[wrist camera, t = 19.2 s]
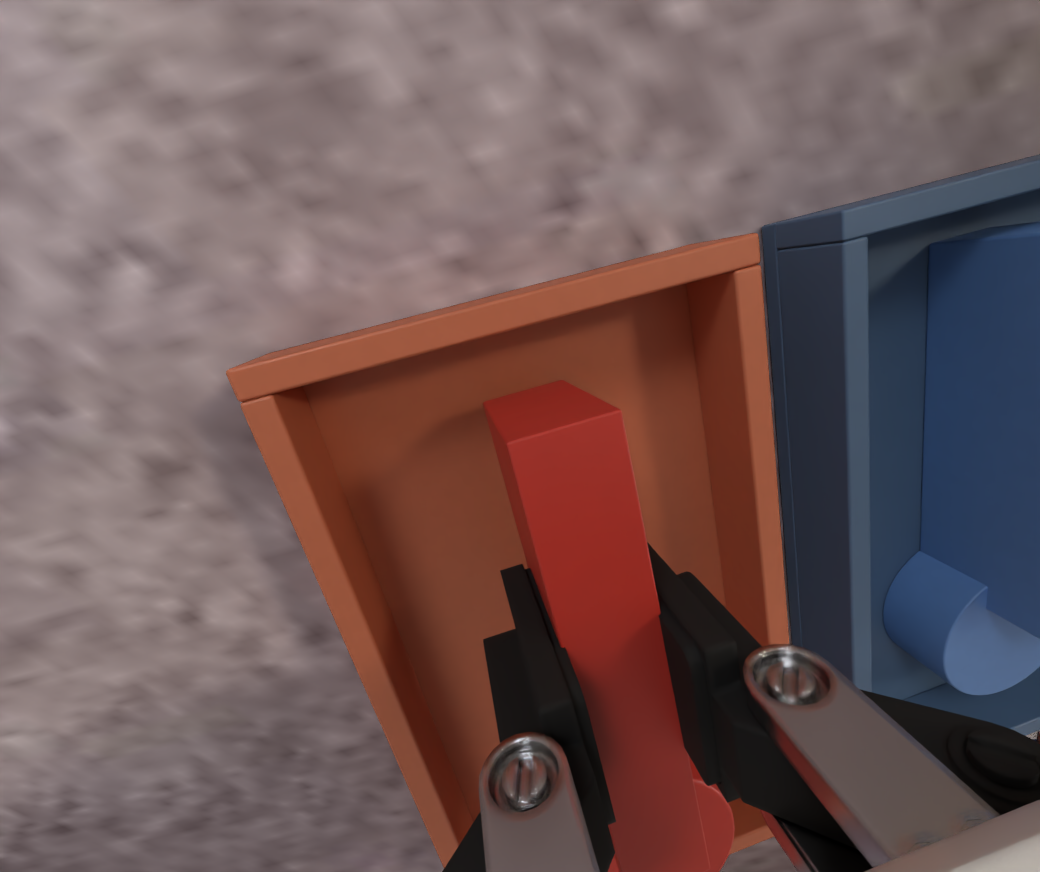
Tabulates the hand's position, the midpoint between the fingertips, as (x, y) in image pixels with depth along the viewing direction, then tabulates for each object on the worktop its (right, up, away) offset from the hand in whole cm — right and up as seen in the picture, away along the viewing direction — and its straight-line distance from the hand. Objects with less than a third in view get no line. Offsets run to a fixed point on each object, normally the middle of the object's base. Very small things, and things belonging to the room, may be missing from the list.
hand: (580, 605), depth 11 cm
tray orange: (0, -1, +3) cm, 3 cm away
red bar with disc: (0, -1, +1) cm, 2 cm away
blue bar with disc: (+11, +3, +3) cm, 12 cm away
